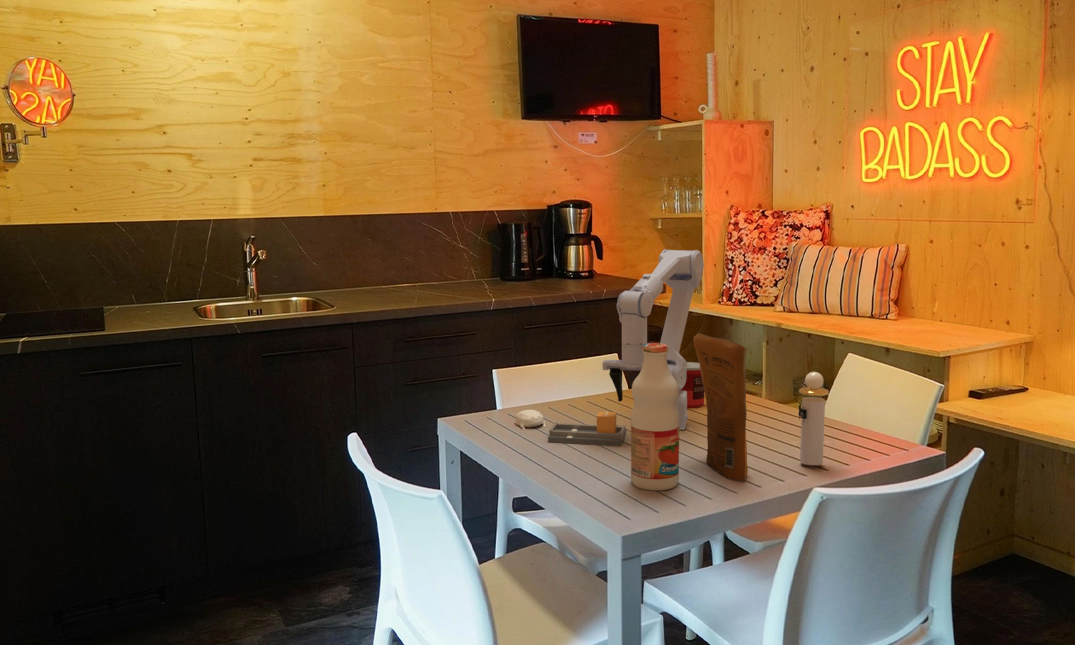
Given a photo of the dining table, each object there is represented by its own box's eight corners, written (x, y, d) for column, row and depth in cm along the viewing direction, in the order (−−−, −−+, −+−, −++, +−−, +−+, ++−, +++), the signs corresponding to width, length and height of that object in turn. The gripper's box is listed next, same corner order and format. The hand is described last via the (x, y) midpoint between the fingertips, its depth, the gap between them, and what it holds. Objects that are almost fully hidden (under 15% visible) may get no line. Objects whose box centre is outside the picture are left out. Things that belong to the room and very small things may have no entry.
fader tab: (616, 430, 199) (616, 412, 198) (613, 435, 195) (613, 416, 194) (599, 429, 200) (599, 411, 199) (596, 434, 196) (596, 415, 195)
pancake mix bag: (727, 486, 165) (730, 346, 161) (689, 456, 183) (690, 330, 179) (759, 483, 166) (762, 344, 162) (718, 454, 185) (720, 328, 180)
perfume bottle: (821, 460, 179) (824, 368, 176) (829, 469, 173) (833, 374, 170) (793, 460, 179) (796, 369, 176) (801, 469, 174) (804, 375, 171)
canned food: (673, 401, 231) (674, 361, 230) (703, 401, 230) (704, 362, 229) (674, 408, 224) (674, 367, 222) (705, 408, 223) (705, 368, 221)
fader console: (626, 433, 201) (626, 423, 201) (620, 446, 192) (620, 435, 191) (557, 430, 205) (557, 420, 205) (548, 442, 196) (547, 432, 195)
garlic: (549, 427, 208) (549, 412, 208) (525, 431, 205) (525, 416, 205) (535, 420, 215) (535, 405, 215) (511, 423, 212) (511, 409, 212)
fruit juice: (637, 473, 173) (637, 339, 169) (683, 478, 170) (684, 341, 166) (625, 488, 165) (625, 348, 160) (672, 494, 161) (674, 350, 157)
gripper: (600, 345, 190) (600, 403, 192) (664, 347, 187) (664, 406, 189) (605, 340, 197) (605, 396, 199) (667, 341, 194) (667, 399, 196)
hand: (634, 401), depth 194 cm, fingers open, 6 cm apart
